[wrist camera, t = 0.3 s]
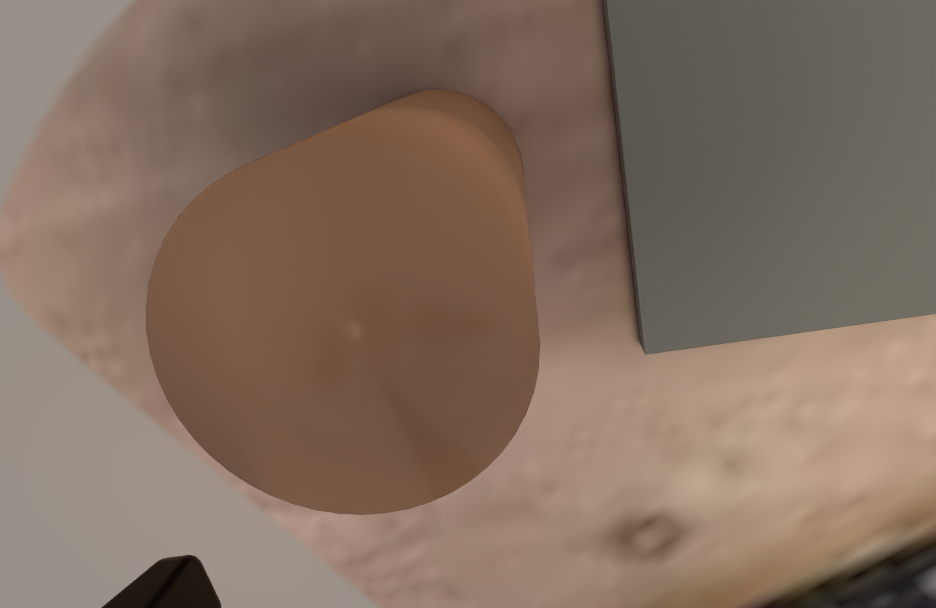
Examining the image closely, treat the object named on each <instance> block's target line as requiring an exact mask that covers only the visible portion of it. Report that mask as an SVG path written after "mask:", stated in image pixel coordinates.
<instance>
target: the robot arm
mask: <svg viewBox="0 0 936 608" xmlns="http://www.w3.org/2000/svg"><path fill="white" fill-rule="evenodd" d="M102 608H221V603H220V600H219V598H218V596H217V594H216V592H215V590H214V588H213V586H212V584H211V581H210V579H209V577H208V576H207V573H206V571H205V569H204V567H203V565H202V563H201V561H200V560H199V559H198V558H197V557H195V556H192V555H185V556H177V557H169V558H165V559H161V560H159V561H158V562H156V563H155V564H154V565H153V566H151V567H150V568H149V569H148V570H147V571H145V572H144V573H143V574H142V575H141V576H139V577H138V578H137V579H136V580H134V581H133V582H132V583H131V584H130V585H128V586H127V587H126V588H125V589H124V590H122V591H121V592H120V593H119V594H118V595H116V596H115V597H114V598H113V599H111V600H110V601H109V602H108V603H107V604H105V605H104V606H103V607H102Z"/></svg>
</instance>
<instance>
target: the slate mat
mask: <svg viewBox="0 0 936 608" xmlns="http://www.w3.org/2000/svg"><path fill="white" fill-rule="evenodd" d="M603 5H604V14H605V24H606V33H607V42H608V51H609V60H610V69H611V78H612V87H613V96H614V105H615V115H616V124H617V133H618V142H619V151H620V160H621V169H622V178H623V187H624V197H625V206H626V215H627V224H628V233H629V242H630V251H631V260H632V269H633V278H634V288H635V297H636V306H637V315H638V324H639V333H640V342H641V346H642V349H643V351H644V353H645V355H646V354H653V353H660V352H667V351H675V350H682V349H689V348H696V347H703V346H710V345H717V344H724V343H731V342H739V341H746V340H753V339H760V338H767V337H774V336H781V335H788V334H796V333H803V332H810V331H817V330H824V329H831V328H838V327H845V326H852V325H860V324H867V323H874V322H881V321H888V320H895V319H902V318H909V317H916V316H924V315H931V314H936V0H603Z"/></svg>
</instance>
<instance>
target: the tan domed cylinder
mask: <svg viewBox="0 0 936 608" xmlns="http://www.w3.org/2000/svg"><path fill="white" fill-rule="evenodd" d="M146 331H147V337H148V344H149V350H150V355H151V359H152V362H153V365H154V369H155V372H156V375H157V378H158V380H159V383H160V385H161V387H162V389H163V392H164V394H165V396H166V398H167V400H168V402H169V404H170V405H171V407H172V409H173V410H174V412H175V414H176V415H177V417H178V419H179V420H180V421H181V423H182V424H183V425H184V427H185V428H186V429H187V430H188V432H189V433H190V434H191V436H192V437H193V438H194V439H195V440H196V441H197V442H198V443H199V444H200V446H201V447H202V448H203V449H204V450H205V451H206V452H207V453H208V454H209V455H210V456H211V457H213V458H214V459H215V460H216V461H217V462H219V463H220V464H221V465H222V466H223V467H225V468H226V469H227V470H228V471H230V472H231V473H233V474H234V475H236V476H237V477H239V478H240V479H242V480H243V481H245V482H246V483H248V484H250V485H252V486H253V487H255V488H257V489H259V490H261V491H263V492H265V493H267V494H269V495H271V496H274V497H276V498H279V499H281V500H284V501H287V502H289V503H292V504H295V505H299V506H303V507H306V508H310V509H314V510H319V511H326V512H332V513H338V514H358V515H364V514H380V513H389V512H394V511H400V510H406V509H410V508H413V507H416V506H419V505H423V504H426V503H429V502H432V501H434V500H436V499H438V498H441V497H443V496H445V495H447V494H450V493H451V492H453V491H455V490H456V489H458V488H460V487H461V486H463V485H465V484H466V483H468V482H470V481H471V480H472V479H473V478H475V477H476V476H477V475H478V474H480V473H481V472H482V471H483V470H485V469H486V468H487V467H488V466H489V465H490V464H491V463H492V462H493V461H494V460H495V459H496V458H497V457H498V456H499V455H500V454H501V453H502V451H503V450H504V449H505V447H506V446H507V445H508V443H509V442H510V440H511V439H512V438H513V436H514V435H515V433H516V432H517V430H518V428H519V426H520V424H521V422H522V420H523V418H524V416H525V415H526V412H527V410H528V407H529V404H530V401H531V398H532V396H533V393H534V389H535V384H536V379H537V374H538V369H539V351H540V340H539V329H538V318H537V308H536V298H535V287H534V277H533V267H532V257H531V246H530V236H529V226H528V215H527V205H526V195H525V185H524V174H523V164H522V159H521V155H520V151H519V148H518V146H517V143H516V140H515V139H514V137H513V135H512V133H511V131H510V130H509V128H508V127H507V125H506V124H505V122H504V121H503V120H502V119H501V118H500V117H499V116H498V115H497V114H496V113H495V112H494V111H493V110H492V109H490V108H489V107H488V106H487V105H485V104H483V103H482V102H480V101H479V100H477V99H475V98H473V97H470V96H468V95H465V94H462V93H459V92H455V91H449V90H425V91H419V92H415V93H412V94H409V95H406V96H404V97H402V98H399V99H397V100H395V101H392V102H390V103H388V104H385V105H383V106H381V107H378V108H376V109H374V110H371V111H369V112H367V113H365V114H362V115H360V116H358V117H355V118H353V119H351V120H348V121H346V122H344V123H341V124H339V125H337V126H334V127H332V128H330V129H327V130H325V131H323V132H321V133H318V134H316V135H314V136H311V137H309V138H307V139H304V140H302V141H300V142H297V143H295V144H293V145H290V146H288V147H286V148H283V149H281V150H279V151H276V152H274V153H272V154H270V155H267V156H265V157H263V158H260V159H258V160H256V161H253V162H251V163H249V164H246V165H244V166H242V167H239V168H237V169H235V170H234V171H232V172H230V173H229V174H227V175H225V176H224V177H222V178H221V179H219V180H217V181H216V182H214V183H213V184H212V185H210V186H209V187H208V188H207V189H206V190H204V191H203V192H202V193H201V194H200V195H198V196H197V197H196V198H195V199H194V200H193V201H192V202H191V203H190V205H189V206H188V207H187V208H186V209H185V210H184V211H183V212H182V214H181V215H180V216H179V217H178V218H177V220H176V222H175V223H174V225H173V226H172V228H171V229H170V231H169V232H168V234H167V236H166V237H165V239H164V241H163V244H162V246H161V248H160V250H159V253H158V255H157V257H156V259H155V262H154V266H153V270H152V273H151V277H150V281H149V286H148V294H147V302H146Z"/></svg>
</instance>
